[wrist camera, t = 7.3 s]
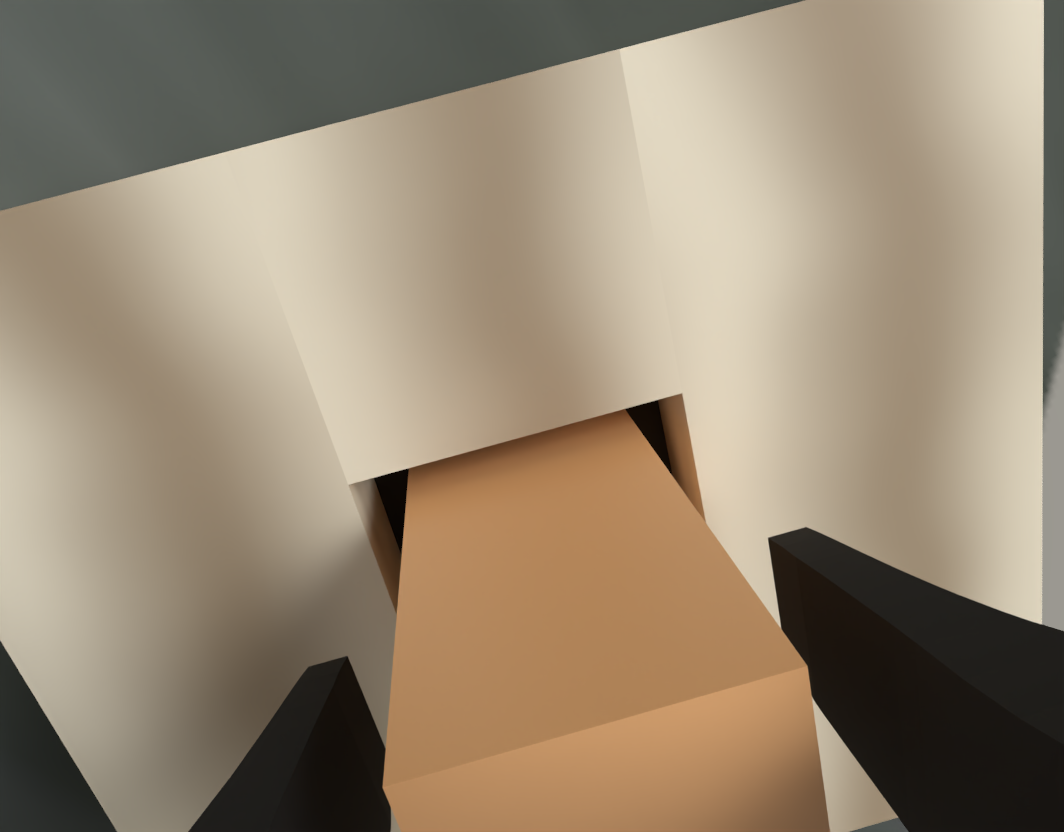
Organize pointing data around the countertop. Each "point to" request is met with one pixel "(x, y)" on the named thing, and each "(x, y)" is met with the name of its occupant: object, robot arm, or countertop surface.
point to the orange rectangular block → (587, 653)
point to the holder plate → (520, 356)
